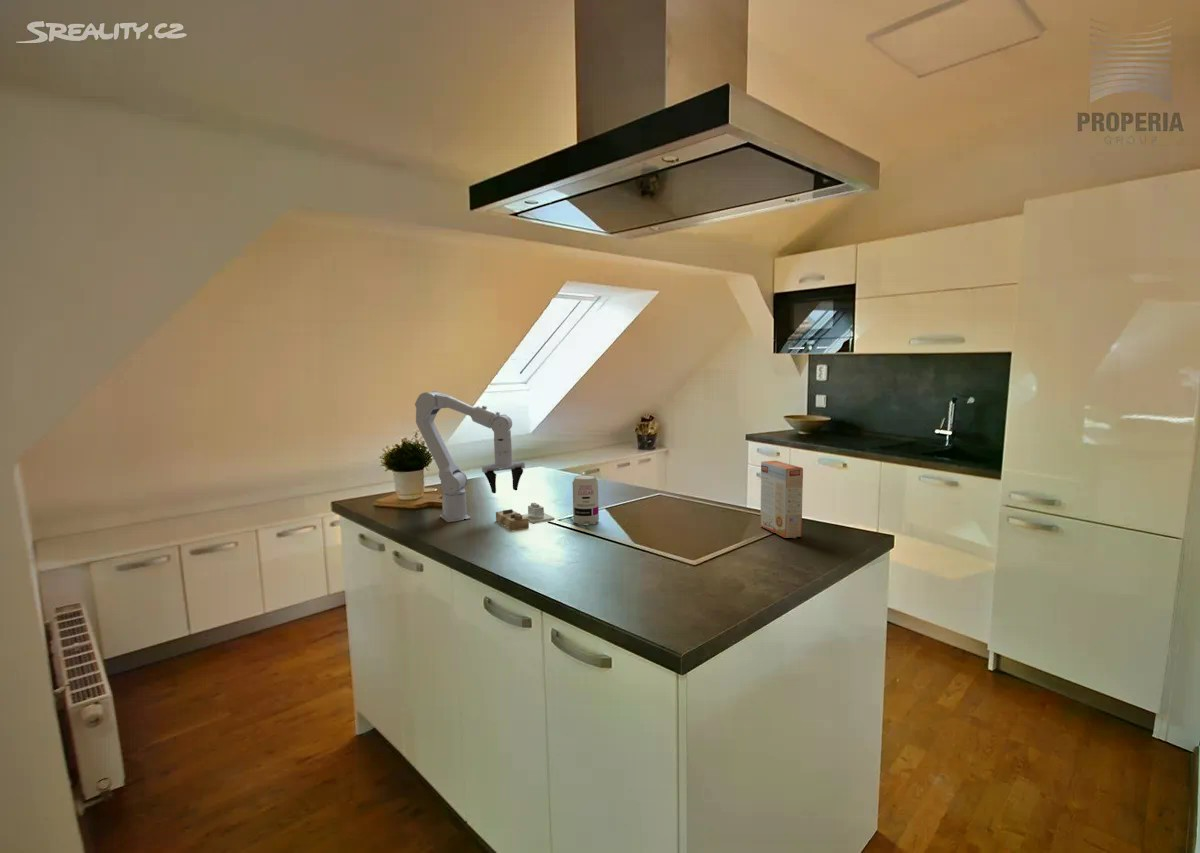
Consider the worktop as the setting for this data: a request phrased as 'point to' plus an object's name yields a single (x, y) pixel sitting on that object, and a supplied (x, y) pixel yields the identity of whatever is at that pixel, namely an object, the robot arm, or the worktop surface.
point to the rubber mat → (546, 518)
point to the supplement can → (585, 499)
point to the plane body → (512, 519)
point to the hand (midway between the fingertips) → (504, 491)
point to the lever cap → (535, 511)
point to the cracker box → (781, 498)
